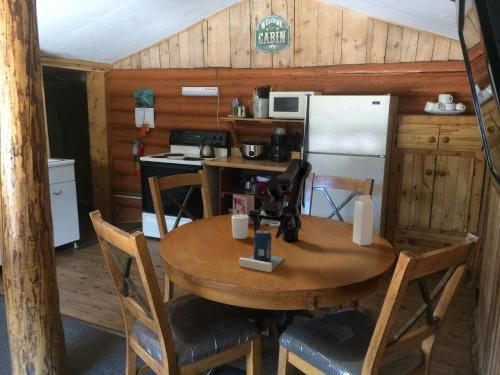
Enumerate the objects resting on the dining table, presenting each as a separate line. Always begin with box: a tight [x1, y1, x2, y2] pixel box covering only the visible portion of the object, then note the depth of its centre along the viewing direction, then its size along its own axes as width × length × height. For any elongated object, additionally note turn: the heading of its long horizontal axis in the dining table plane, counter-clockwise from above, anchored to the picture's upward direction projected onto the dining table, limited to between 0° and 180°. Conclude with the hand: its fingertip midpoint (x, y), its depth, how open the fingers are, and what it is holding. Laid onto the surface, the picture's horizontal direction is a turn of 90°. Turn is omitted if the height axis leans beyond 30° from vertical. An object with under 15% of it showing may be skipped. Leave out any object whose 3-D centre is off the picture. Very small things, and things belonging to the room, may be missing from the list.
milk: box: [352, 194, 375, 246], centre depth 186 cm, size 6×6×22 cm
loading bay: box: [238, 253, 285, 273], centre depth 163 cm, size 15×13×3 cm
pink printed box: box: [232, 193, 255, 225], centre depth 216 cm, size 11×7×15 cm, turn 40°
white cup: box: [231, 214, 249, 240], centre depth 194 cm, size 8×8×10 cm
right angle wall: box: [260, 210, 282, 229], centre depth 212 cm, size 12×12×8 cm
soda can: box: [253, 228, 272, 262], centre depth 163 cm, size 7×7×12 cm
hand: (265, 236), depth 164 cm, fingers open, 9 cm apart
